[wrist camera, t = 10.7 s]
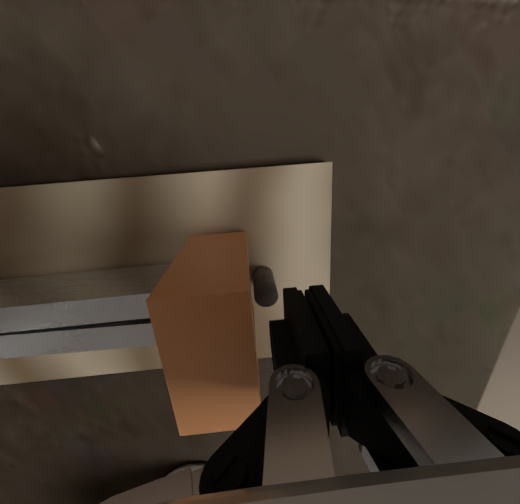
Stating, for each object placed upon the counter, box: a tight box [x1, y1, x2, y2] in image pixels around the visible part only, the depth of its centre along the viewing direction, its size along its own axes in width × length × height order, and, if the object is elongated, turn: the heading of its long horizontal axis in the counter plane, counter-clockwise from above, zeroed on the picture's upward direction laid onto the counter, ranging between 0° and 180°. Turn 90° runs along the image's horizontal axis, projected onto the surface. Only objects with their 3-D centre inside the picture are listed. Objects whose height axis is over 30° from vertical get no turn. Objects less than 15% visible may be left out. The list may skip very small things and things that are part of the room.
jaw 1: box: [0, 263, 172, 333], centre depth 13 cm, size 15×1×3 cm, turn 94°
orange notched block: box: [146, 231, 261, 436], centre depth 12 cm, size 3×6×7 cm, turn 4°
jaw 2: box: [0, 318, 157, 359], centre depth 13 cm, size 15×1×3 cm, turn 93°
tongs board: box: [0, 162, 332, 385], centre depth 14 cm, size 22×12×4 cm, turn 94°
